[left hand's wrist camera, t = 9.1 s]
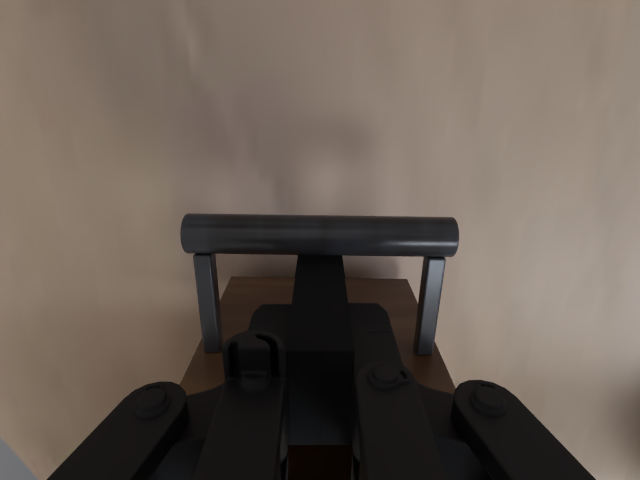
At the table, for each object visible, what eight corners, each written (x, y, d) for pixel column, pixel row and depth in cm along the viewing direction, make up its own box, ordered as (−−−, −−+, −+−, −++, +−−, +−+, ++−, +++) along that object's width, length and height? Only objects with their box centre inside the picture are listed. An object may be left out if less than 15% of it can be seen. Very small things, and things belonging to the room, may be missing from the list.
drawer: (223, 175, 18) (149, 242, 10) (417, 178, 18) (489, 246, 10) (248, 495, 26) (216, 671, 18) (384, 497, 26) (411, 674, 18)
